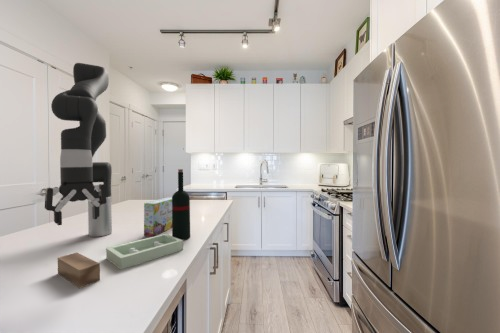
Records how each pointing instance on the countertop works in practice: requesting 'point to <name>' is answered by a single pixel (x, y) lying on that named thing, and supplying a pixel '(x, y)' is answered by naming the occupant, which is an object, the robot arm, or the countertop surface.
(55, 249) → the countertop surface
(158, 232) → the snack box
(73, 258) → the walnut plank
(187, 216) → the wine bottle
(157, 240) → the pale green tray
